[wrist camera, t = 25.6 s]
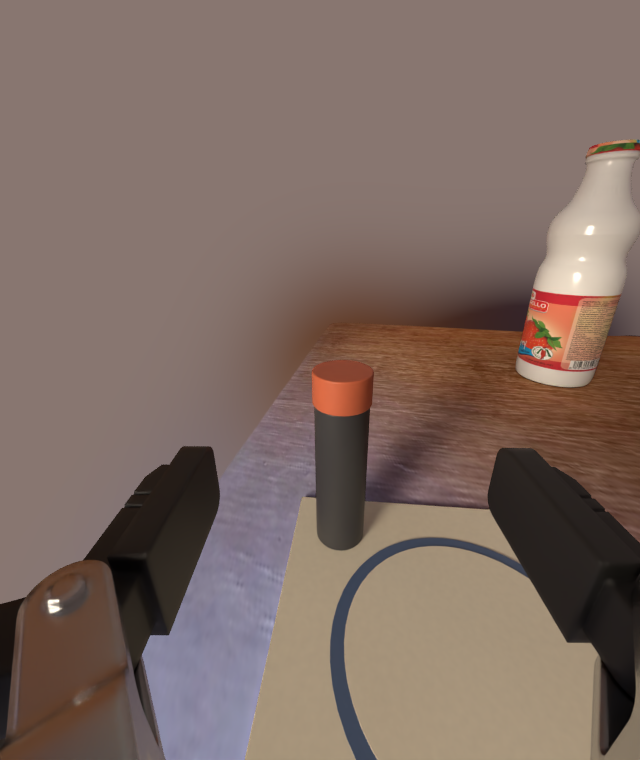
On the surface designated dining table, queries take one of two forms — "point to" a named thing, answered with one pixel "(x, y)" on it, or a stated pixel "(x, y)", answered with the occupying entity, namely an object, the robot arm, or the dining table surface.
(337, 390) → the marker
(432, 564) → the paper
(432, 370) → the dining table surface
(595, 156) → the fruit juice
